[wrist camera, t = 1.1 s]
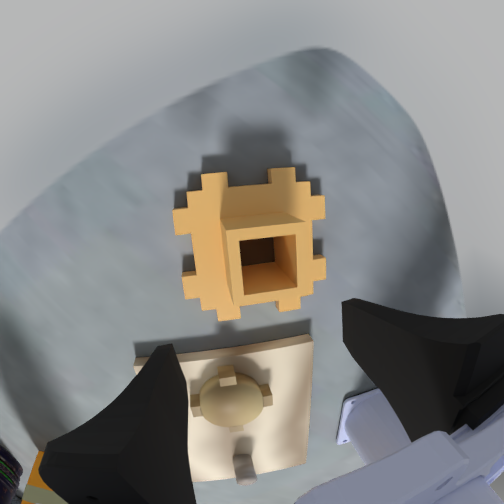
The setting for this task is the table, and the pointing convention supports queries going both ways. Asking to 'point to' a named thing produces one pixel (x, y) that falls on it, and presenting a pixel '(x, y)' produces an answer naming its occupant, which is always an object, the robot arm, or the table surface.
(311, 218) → the gear
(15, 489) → the storage jar
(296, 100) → the table surface
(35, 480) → the orange juice
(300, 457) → the carrier plate
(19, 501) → the koala plush
